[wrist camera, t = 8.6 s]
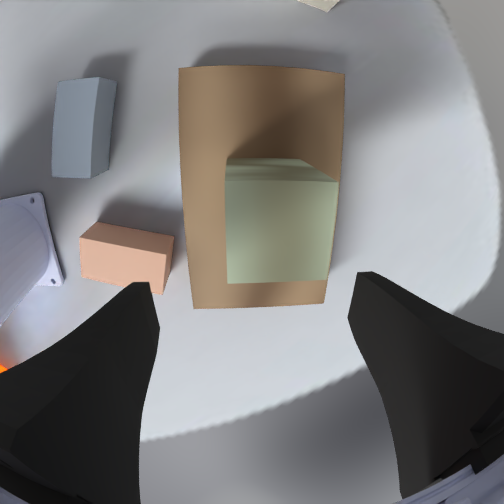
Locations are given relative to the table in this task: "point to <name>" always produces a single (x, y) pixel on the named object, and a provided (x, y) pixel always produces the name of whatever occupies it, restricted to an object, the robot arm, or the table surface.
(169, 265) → the terracotta brick
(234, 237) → the sage block
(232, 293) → the walnut slab
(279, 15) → the table surface
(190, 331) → the table surface
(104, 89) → the slate brick
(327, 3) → the cream brick
